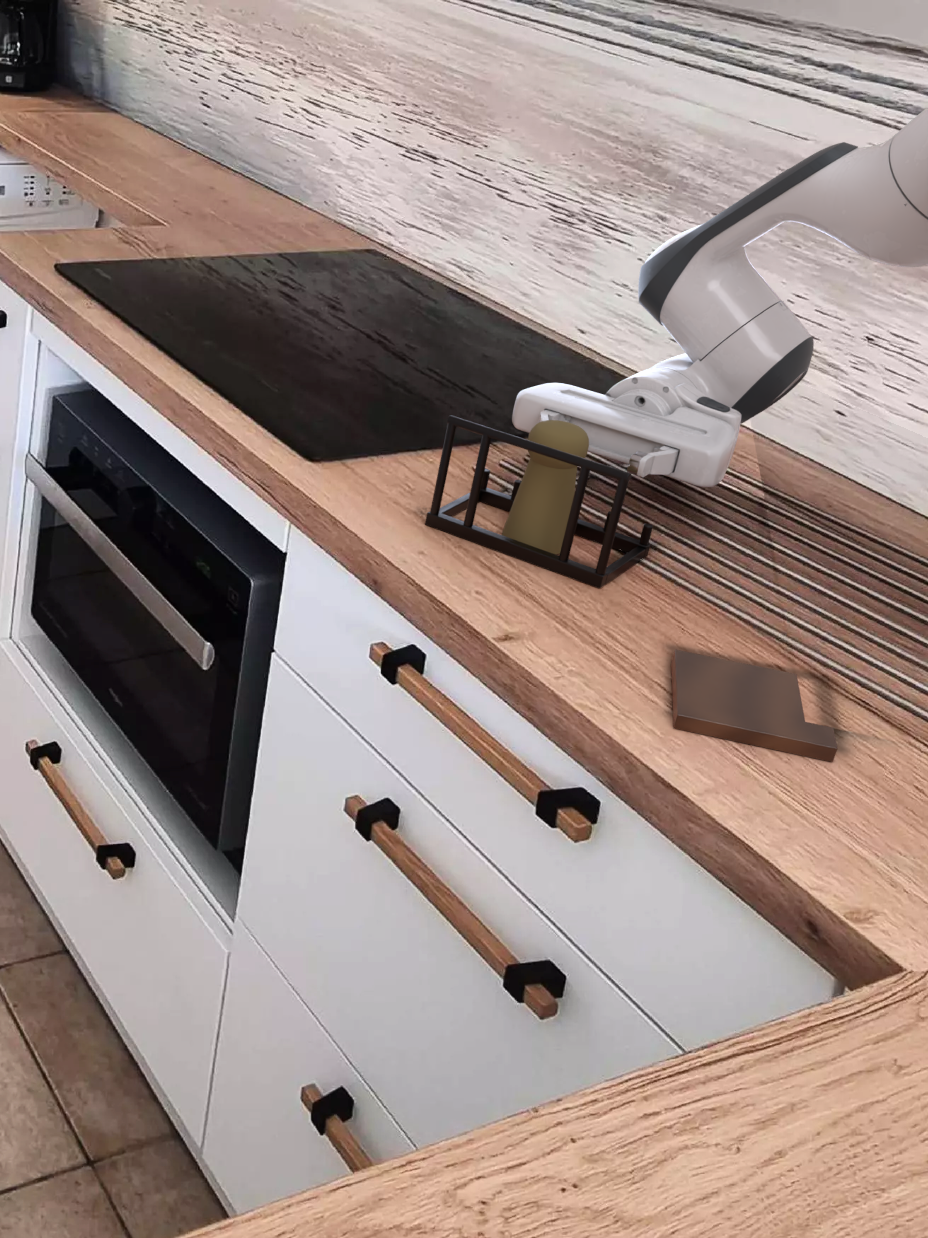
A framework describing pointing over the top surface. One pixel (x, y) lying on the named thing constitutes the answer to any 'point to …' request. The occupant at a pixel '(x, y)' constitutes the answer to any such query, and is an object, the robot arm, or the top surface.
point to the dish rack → (481, 493)
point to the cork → (547, 488)
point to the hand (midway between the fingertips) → (586, 451)
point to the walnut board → (745, 706)
